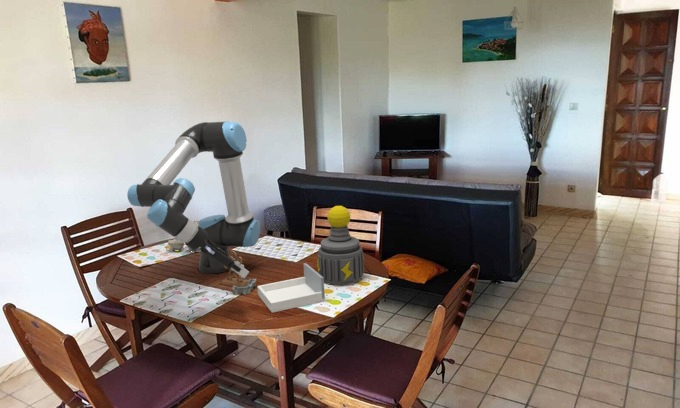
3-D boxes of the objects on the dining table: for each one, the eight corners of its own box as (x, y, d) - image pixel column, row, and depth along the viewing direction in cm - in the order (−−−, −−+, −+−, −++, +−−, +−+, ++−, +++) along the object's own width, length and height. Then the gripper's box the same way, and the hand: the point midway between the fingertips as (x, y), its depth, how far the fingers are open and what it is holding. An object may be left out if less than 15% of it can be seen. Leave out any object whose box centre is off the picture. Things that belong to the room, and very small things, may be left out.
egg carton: (241, 284, 201) (240, 275, 200) (258, 285, 199) (257, 275, 198) (230, 295, 191) (229, 285, 190) (248, 295, 189) (247, 285, 188)
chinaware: (216, 242, 264) (212, 211, 262) (230, 246, 251) (226, 213, 249) (164, 255, 247) (158, 222, 245) (176, 259, 234) (171, 224, 232)
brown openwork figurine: (221, 283, 175) (218, 250, 172) (228, 279, 178) (225, 247, 176) (241, 287, 171) (238, 253, 168) (248, 282, 174) (245, 250, 172)
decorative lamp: (324, 289, 192) (320, 213, 185) (313, 272, 210) (310, 203, 203) (370, 282, 197) (368, 208, 190) (356, 267, 214) (354, 199, 208)
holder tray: (257, 294, 189) (256, 272, 187) (307, 284, 197) (305, 263, 195) (271, 312, 173) (270, 288, 171) (324, 300, 181) (323, 277, 179)
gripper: (180, 236, 173) (231, 271, 183) (188, 251, 156) (244, 289, 167) (194, 219, 174) (244, 255, 184) (203, 232, 157) (258, 271, 168)
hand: (244, 271), depth 176 cm, fingers closed on brown openwork figurine, 6 cm apart
